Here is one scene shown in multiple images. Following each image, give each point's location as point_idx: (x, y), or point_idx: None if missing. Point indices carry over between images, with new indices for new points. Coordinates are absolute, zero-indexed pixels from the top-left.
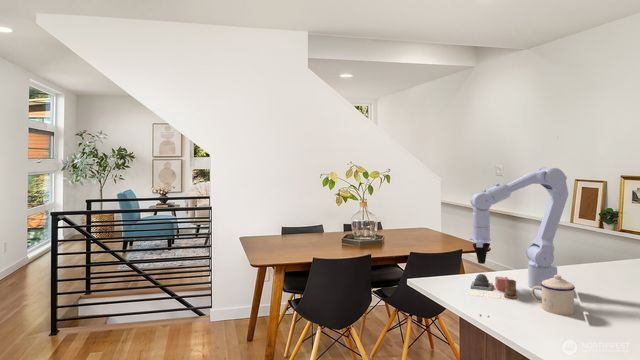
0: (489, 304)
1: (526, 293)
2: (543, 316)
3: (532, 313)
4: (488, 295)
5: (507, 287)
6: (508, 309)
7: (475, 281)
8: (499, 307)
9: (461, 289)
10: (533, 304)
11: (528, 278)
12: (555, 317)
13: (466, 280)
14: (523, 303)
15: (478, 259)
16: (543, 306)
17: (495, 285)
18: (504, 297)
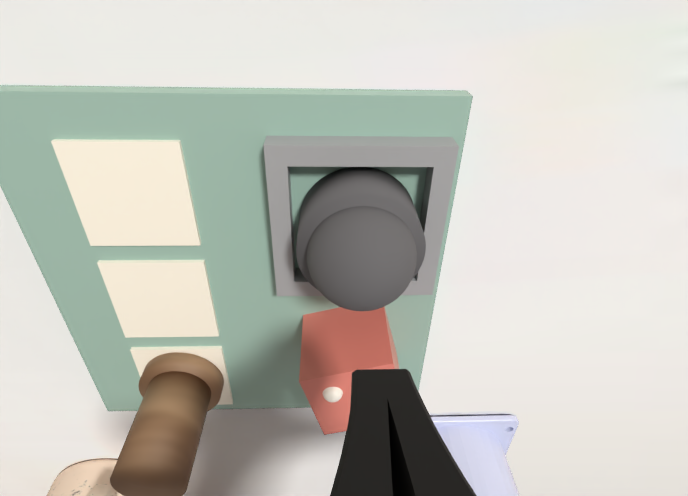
0: (18, 277)
1: None
2: (30, 460)
3: (37, 434)
4: (140, 277)
5: (131, 429)
6: (10, 361)
7: (326, 200)
8: (6, 325)
9: (291, 35)
10: None
11: (466, 476)
12: None
13: (641, 49)
14: None
15: (350, 427)
16: (61, 491)
17: (378, 311)
18: (157, 354)
